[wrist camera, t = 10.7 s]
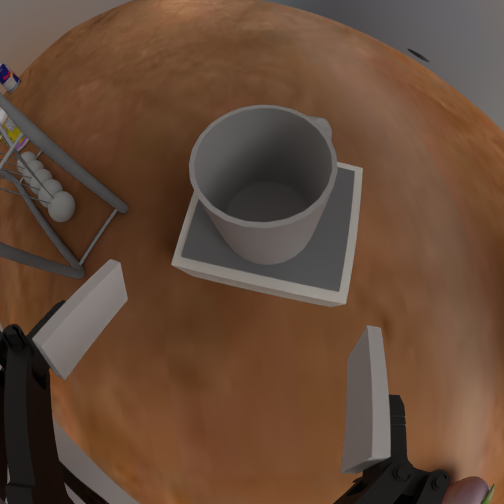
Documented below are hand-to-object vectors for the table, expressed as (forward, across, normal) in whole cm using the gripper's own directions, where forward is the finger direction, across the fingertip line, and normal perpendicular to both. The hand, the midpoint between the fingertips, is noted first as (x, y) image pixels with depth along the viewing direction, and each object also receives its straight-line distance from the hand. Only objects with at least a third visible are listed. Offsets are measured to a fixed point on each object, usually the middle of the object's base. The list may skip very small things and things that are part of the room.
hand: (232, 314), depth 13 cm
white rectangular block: (+15, 0, -3) cm, 15 cm away
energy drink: (+39, -90, +20) cm, 101 cm away
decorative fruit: (-6, +34, -24) cm, 42 cm away
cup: (+11, 0, +1) cm, 11 cm away
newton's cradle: (+15, -32, -4) cm, 35 cm away
